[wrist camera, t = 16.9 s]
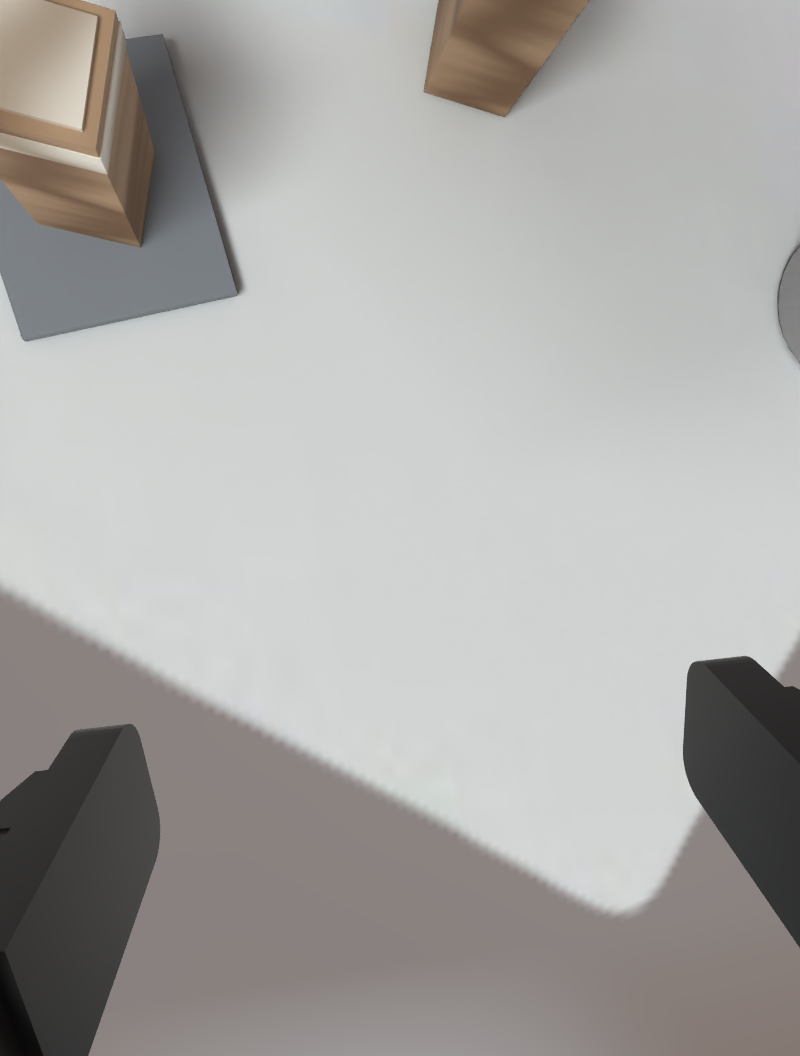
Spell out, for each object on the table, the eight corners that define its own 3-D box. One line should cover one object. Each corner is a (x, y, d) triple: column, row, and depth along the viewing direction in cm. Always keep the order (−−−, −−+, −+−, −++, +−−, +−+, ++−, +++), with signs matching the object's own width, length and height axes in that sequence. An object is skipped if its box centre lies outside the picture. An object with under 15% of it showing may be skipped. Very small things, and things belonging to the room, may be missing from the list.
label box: (156, 151, 32) (116, 5, 22) (141, 249, 32) (95, 148, 22) (50, 123, 31) (-42, -43, 21) (36, 224, 31) (-62, 108, 21)
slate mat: (163, 40, 32) (162, 34, 32) (237, 295, 34) (237, 293, 33) (-63, 72, 30) (-69, 66, 30) (26, 341, 32) (22, 339, 31)
